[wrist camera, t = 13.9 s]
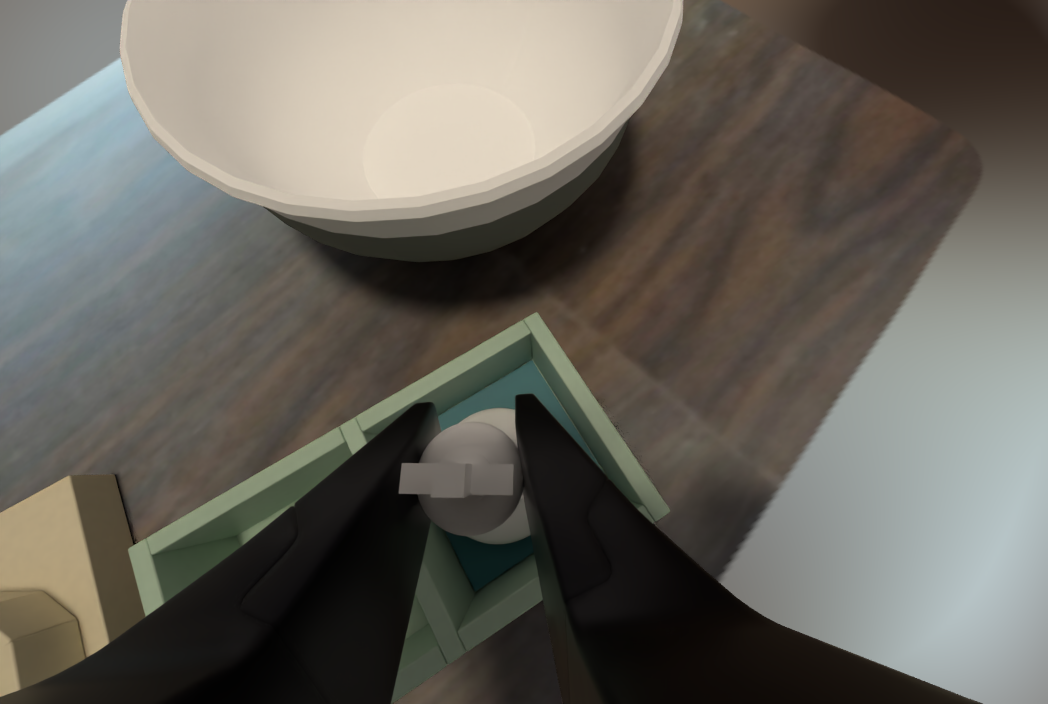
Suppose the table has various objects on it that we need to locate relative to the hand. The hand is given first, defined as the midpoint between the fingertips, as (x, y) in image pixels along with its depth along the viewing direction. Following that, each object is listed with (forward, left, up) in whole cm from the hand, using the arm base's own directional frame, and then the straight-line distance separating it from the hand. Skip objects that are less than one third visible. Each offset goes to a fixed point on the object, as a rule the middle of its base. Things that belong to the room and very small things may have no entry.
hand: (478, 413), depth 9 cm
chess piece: (-1, +1, -7) cm, 7 cm away
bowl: (+14, -5, -8) cm, 17 cm away
